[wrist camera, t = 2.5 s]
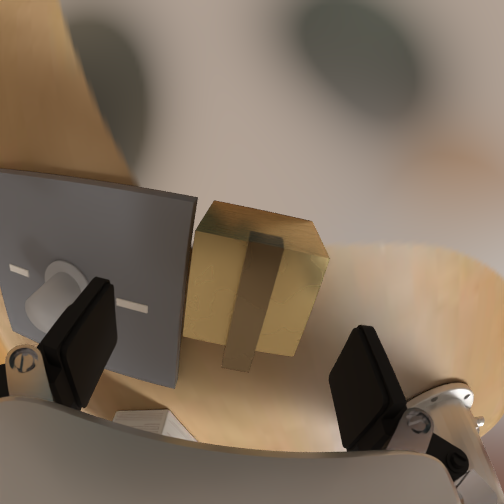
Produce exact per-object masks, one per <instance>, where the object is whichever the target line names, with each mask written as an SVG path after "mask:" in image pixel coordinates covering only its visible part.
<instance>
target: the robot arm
mask: <svg viewBox="0 0 504 504" xmlns="http://www.w3.org/2000/svg"><path fill="white" fill-rule="evenodd" d="M117 339H118V335H117V325H116V312H115V296H114V285H113V284H110V280H108V279H105V278H100V277H94V278H93V279H92V280H91V282H90V283H89V284H88V285H87V286H86V288H85V289H84V290H83V291H82V292H81V294H80V295H79V296H78V297H77V299H76V300H75V301H74V302H73V304H71V305H69V306H68V307H67V308H66V309H65V311H64V312H63V313H62V314H61V316H60V317H59V318H58V319H57V321H56V322H55V323H54V325H53V326H52V327H51V329H50V330H49V331H48V333H47V334H46V335H45V337H44V338H43V339H42V341H41V342H40V343H39V345H38V346H37V348H36V347H34V346H32V345H27V344H25V345H19V346H16V347H14V348H13V349H11V350H10V351H9V353H8V354H7V356H6V360H5V364H2V365H0V504H504V494H503V492H502V489H501V486H500V483H499V481H498V478H497V476H496V473H495V470H494V468H493V466H492V463H491V461H490V458H489V456H488V454H487V452H486V449H485V447H484V445H483V443H482V440H481V438H480V436H479V427H480V426H482V425H483V424H484V417H483V416H480V417H475V418H474V416H473V414H472V413H471V411H470V408H471V406H472V403H473V400H474V395H473V392H472V390H471V389H470V387H469V386H468V385H466V384H464V383H450V384H445V385H442V386H439V387H436V388H433V389H431V390H429V391H426V392H424V393H422V394H421V395H419V396H417V397H415V398H413V399H412V400H410V401H408V402H407V401H406V399H405V397H404V394H403V392H402V389H401V387H400V385H399V382H398V380H397V378H396V375H395V373H394V371H393V368H392V366H391V364H390V362H389V359H388V357H387V355H386V353H385V351H384V348H383V346H382V344H381V342H380V340H379V338H378V335H377V333H376V331H375V329H374V328H373V327H372V326H364V325H359V326H358V327H357V328H354V329H353V330H352V332H351V334H350V336H349V338H348V340H347V342H346V344H345V346H344V348H343V350H342V352H341V354H340V356H339V357H338V359H337V361H336V363H335V365H334V367H333V369H332V370H331V372H330V375H329V384H330V388H331V393H332V397H333V402H334V407H335V411H336V416H337V421H338V425H339V430H340V435H341V440H342V445H343V447H344V448H346V449H347V452H285V451H268V450H255V449H245V448H236V447H228V446H220V445H213V444H207V443H201V442H195V441H190V440H184V439H179V438H174V437H170V436H165V435H161V434H156V433H152V432H148V431H144V430H140V429H137V428H133V427H129V426H126V425H122V424H119V423H116V422H112V421H109V420H106V419H103V418H99V417H96V416H93V415H90V414H87V413H84V412H82V411H80V410H81V408H82V407H83V408H85V407H86V406H87V404H88V402H89V400H90V398H91V395H92V393H93V391H94V389H95V387H96V385H97V383H98V381H99V378H100V376H101V374H102V372H103V370H104V368H105V366H106V364H107V362H108V360H109V358H110V356H111V354H112V352H113V350H114V348H115V346H116V344H117Z"/></svg>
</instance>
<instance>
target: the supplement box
mask: <svg viewBox="0 0 504 504" xmlns="http://www.w3.org/2000/svg"><path fill="white" fill-rule="evenodd" d="M112 422H116V423H119V424H122V425H126V426H129V427H133V428H137V429H140V430H144V431H148V432H152V433H156V434H161V435H165V436H170V437H174V438H179V439H184V440H190V441H195V442H198V441H197V440H196V439H195V438H194V437H193V436H192V435H191V434H190V433H189V432H188V431H187V430H186V429H185V428H184V426H183V425H182V424H181V423H180V422H179V421H178V420H177V419H176V417H175V416H174V415H173V414H172V413H171V411H170V410H168V409H163V410H134V411H117V412H116V414H115V416H114V418H113V421H112Z"/></svg>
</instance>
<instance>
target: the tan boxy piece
mask: <svg viewBox="0 0 504 504" xmlns="http://www.w3.org/2000/svg"><path fill="white" fill-rule="evenodd" d="M329 259H330V258H329V256H328V253H327V251H326V249H325V247H324V245H323V243H322V241H321V239H320V237H319V234H318V232H317V230H316V228H315V226H314V224H313V222H312V221H309V220H304V219H300V218H295V217H291V216H286V215H282V214H277V213H272V212H268V211H263V210H258V209H254V208H249V207H244V206H239V205H234V204H230V203H225V202H219V201H213V203H212V205H211V206H210V208H209V210H208V211H207V213H206V214H205V216H204V218H203V219H202V221H201V222H200V224H199V225H198V227H197V229H196V230H195V237H194V243H193V251H192V258H191V266H190V274H189V282H188V291H187V300H186V309H185V319H184V329H183V337H188V338H192V339H197V340H201V341H206V342H211V343H216V344H221V345H225V350H224V355H223V362H222V368H226V369H232V370H237V371H243V372H249V370H250V366H251V363H252V360H253V356H254V353H255V351H259V352H265V353H271V354H278V355H285V356H292V357H293V356H294V354H295V351H296V349H297V346H298V344H299V341H300V339H301V336H302V334H303V331H304V329H305V326H306V323H307V321H308V318H309V316H310V313H311V310H312V308H313V305H314V302H315V299H316V297H317V294H318V291H319V288H320V285H321V283H322V280H323V277H324V274H325V271H326V268H327V265H328V262H329Z"/></svg>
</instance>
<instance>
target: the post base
mask: <svg viewBox="0 0 504 504" xmlns="http://www.w3.org/2000/svg"><path fill="white" fill-rule="evenodd" d="M197 199H198V197H193V196H188V195H182V194H176V193H171V192H166V191H160V190H154V189H148V188H142V187H136V186H130V185H124V184H117V183H111V182H104V181H98V180H91V179H84V178H77V177H70V176H62V175H54V174H46V173H38V172H30V171H21V170H12V169H2V168H0V287H1V291H2V295H3V299H4V303H5V307H6V310H7V314H8V317H9V321H10V324H11V327H12V330H13V331H14V332H16V333H18V334H20V335H22V336H25V337H27V338H29V339H31V340H33V341H35V342H38V343H40V342H41V341H42V339H43V338H44V337H45V335H46V334H47V333H48V331H49V330H50V329H51V327H52V326H53V325H54V323H55V322H56V321H57V319H58V318H59V317H60V316H61V314H62V313H63V312H64V311H65V309H66V308H67V307H68V306H69V305H71V304H73V302H74V301H75V300H76V299H77V297H78V296H79V295H80V294H81V292H82V291H83V290H84V289H85V288H86V286H87V285H88V284H89V283H90V282H91V280H92V279H93V278H94V277H100V278H105V279H108V280H110V284H113V285H114V296H115V312H116V325H117V335H118V339H117V344H116V346H115V348H114V350H113V352H112V354H111V356H110V358H109V360H108V362H107V364H106V366H105V368H104V369H107V370H110V371H113V372H116V373H119V374H123V375H126V376H129V377H132V378H136V379H139V380H143V381H146V382H150V383H154V384H157V385H161V386H165V387H169V388H173V389H175V386H176V383H177V380H178V367H179V353H180V341H181V329H182V319H183V308H184V299H185V289H186V281H187V272H188V264H189V256H190V248H191V241H192V233H193V226H194V219H195V212H196V206H197Z"/></svg>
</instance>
